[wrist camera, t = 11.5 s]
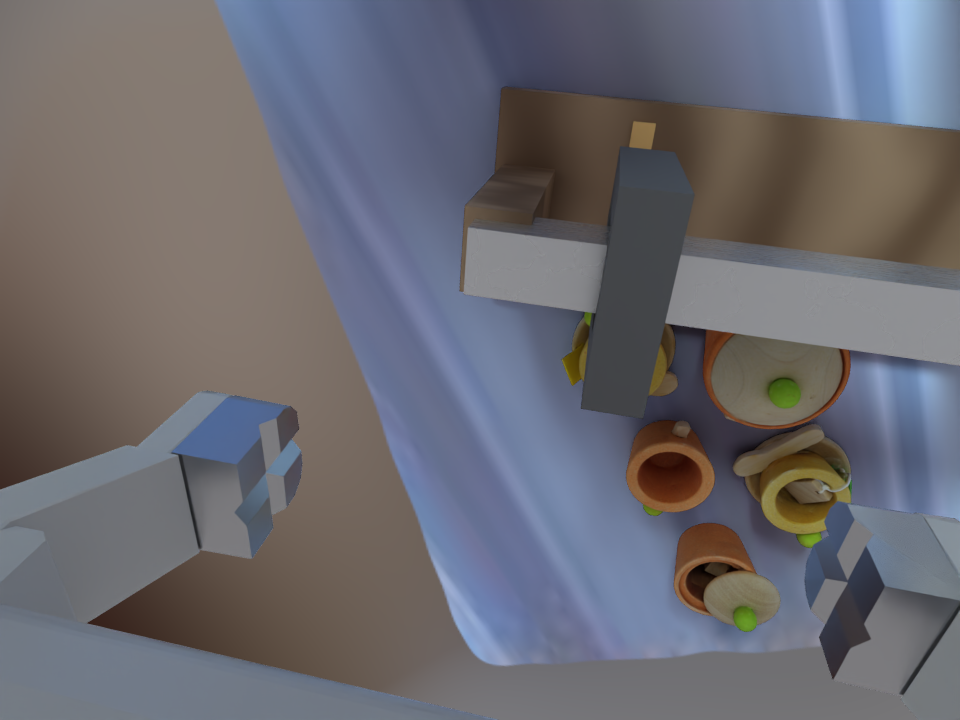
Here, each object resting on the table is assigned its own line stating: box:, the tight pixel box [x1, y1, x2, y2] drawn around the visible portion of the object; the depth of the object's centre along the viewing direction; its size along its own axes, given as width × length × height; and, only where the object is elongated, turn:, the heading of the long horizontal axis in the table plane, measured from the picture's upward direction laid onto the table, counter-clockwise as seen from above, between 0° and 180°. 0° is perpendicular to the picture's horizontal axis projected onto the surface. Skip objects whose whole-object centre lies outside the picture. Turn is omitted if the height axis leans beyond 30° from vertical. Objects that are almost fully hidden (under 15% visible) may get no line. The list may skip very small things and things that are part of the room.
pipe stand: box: [460, 87, 960, 366], centre depth 31 cm, size 30×12×14 cm, turn 86°
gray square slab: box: [581, 146, 695, 419], centre depth 27 cm, size 2×9×9 cm, turn 176°
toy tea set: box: [561, 312, 852, 632], centre depth 40 cm, size 26×16×10 cm, turn 25°
